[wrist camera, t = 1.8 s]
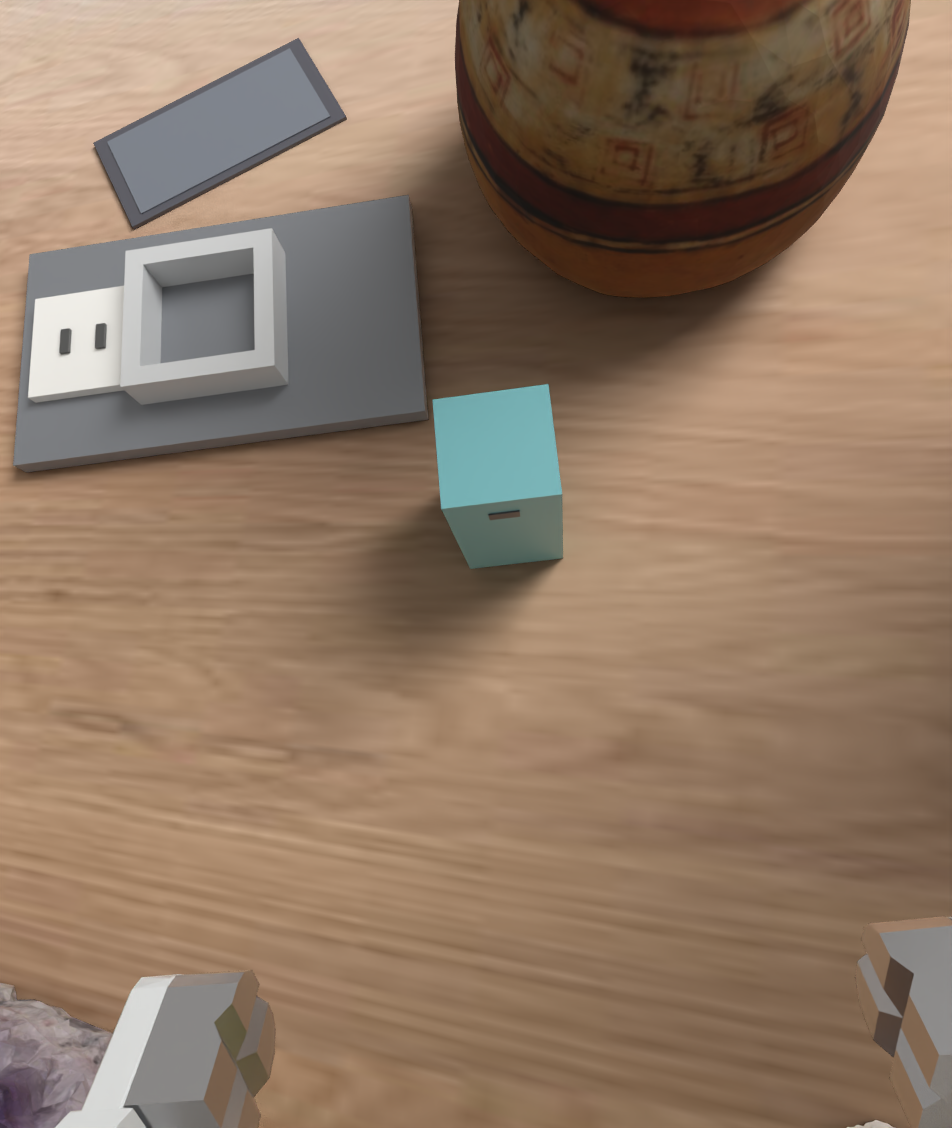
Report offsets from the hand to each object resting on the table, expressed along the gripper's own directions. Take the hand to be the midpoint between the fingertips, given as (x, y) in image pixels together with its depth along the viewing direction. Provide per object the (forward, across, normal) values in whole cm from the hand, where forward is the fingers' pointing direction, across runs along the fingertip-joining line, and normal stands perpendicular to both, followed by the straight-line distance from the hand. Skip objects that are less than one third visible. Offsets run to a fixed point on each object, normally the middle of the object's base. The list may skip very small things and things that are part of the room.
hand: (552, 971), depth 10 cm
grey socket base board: (+36, +15, -2) cm, 39 cm away
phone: (+46, +15, -11) cm, 50 cm away
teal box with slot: (+28, 0, +7) cm, 28 cm away
